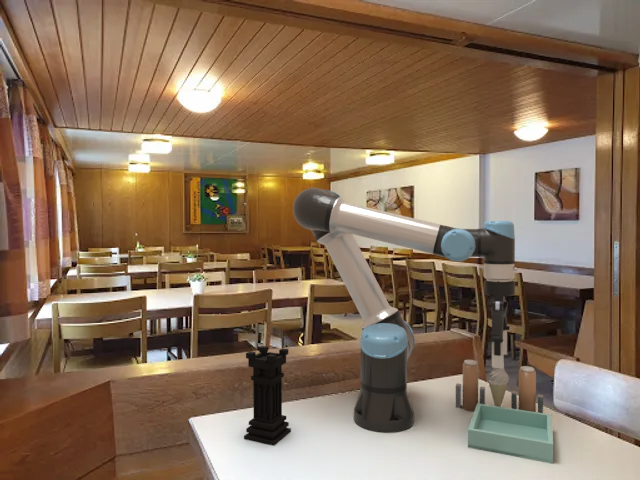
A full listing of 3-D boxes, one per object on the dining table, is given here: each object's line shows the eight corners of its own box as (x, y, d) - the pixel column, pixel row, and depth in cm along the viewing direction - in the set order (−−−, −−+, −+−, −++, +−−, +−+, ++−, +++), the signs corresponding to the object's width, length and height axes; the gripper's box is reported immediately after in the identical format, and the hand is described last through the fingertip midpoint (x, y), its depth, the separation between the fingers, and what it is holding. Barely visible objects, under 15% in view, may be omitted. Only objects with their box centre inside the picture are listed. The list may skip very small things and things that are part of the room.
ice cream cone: (511, 416, 122) (511, 358, 121) (491, 416, 122) (492, 358, 121) (503, 409, 127) (504, 353, 126) (485, 408, 127) (485, 353, 126)
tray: (467, 447, 105) (467, 429, 105) (477, 418, 120) (477, 403, 120) (553, 463, 98) (553, 444, 98) (551, 431, 113) (551, 414, 113)
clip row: (455, 407, 128) (455, 385, 128) (456, 404, 130) (456, 383, 129) (542, 421, 119) (543, 397, 119) (542, 418, 121) (543, 395, 120)
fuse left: (461, 409, 126) (461, 362, 126) (463, 404, 130) (463, 358, 129) (477, 412, 125) (477, 364, 124) (478, 407, 128) (479, 360, 128)
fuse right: (518, 418, 120) (518, 369, 120) (518, 413, 124) (519, 364, 124) (535, 421, 119) (535, 371, 118) (535, 415, 122) (536, 366, 122)
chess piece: (291, 431, 113) (290, 348, 112) (274, 445, 106) (273, 357, 105) (262, 425, 116) (261, 345, 116) (244, 439, 109) (243, 353, 108)
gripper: (512, 285, 110) (512, 375, 111) (517, 275, 133) (517, 350, 133) (478, 284, 113) (479, 372, 114) (488, 274, 136) (489, 347, 137)
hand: (499, 360), depth 124 cm, fingers open, 13 cm apart
